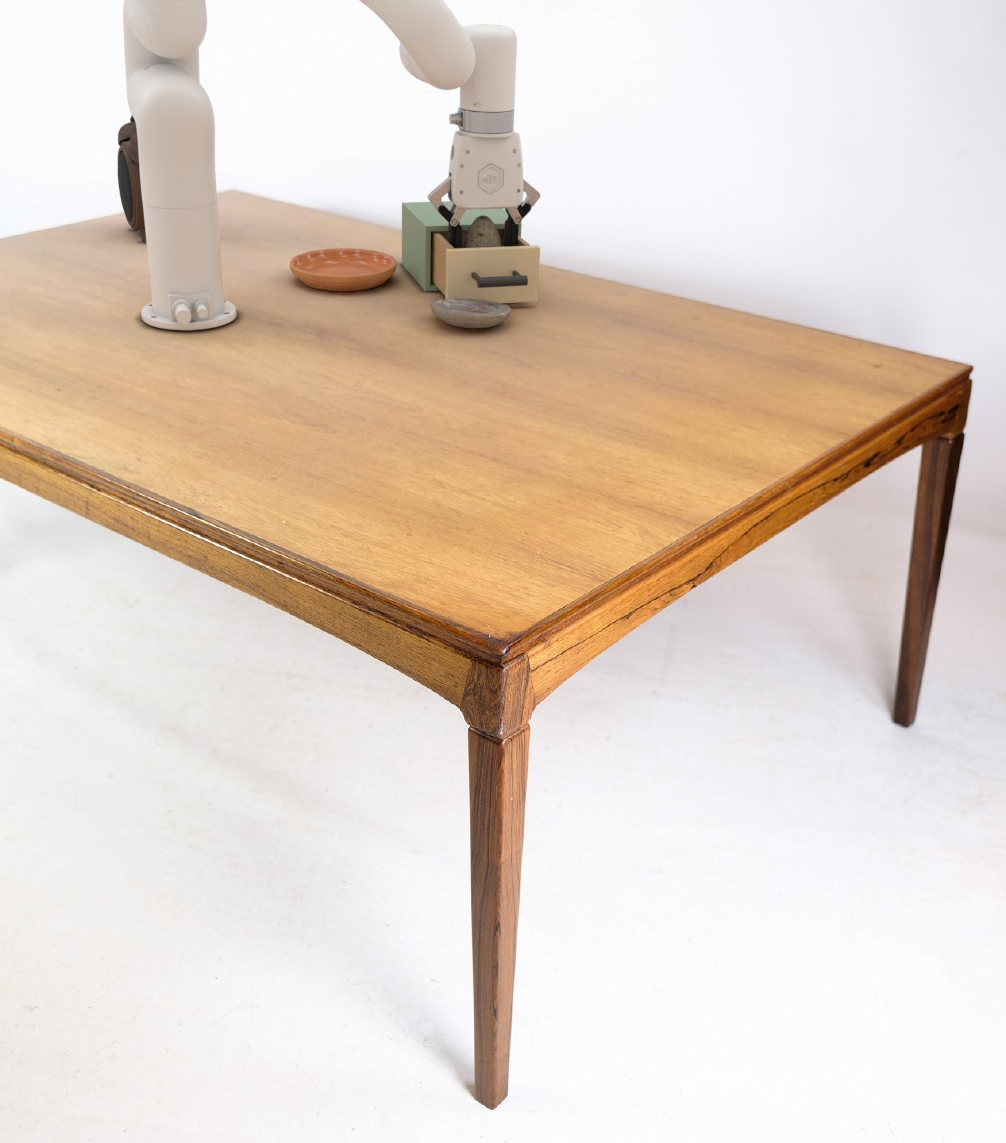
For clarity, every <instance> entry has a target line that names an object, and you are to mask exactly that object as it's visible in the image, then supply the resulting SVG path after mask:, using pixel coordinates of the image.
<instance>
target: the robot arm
mask: <svg viewBox="0 0 1006 1143" xmlns="http://www.w3.org/2000/svg"><path fill="white" fill-rule="evenodd" d="M358 1H359V2H360V3H361V4H363V5H365V6H366V7H367V8H368V9H369V10H370V11H372V12H373V13H374V14H375V15H376V16H377V17H378V18H379V19H380V20H381V21H382V22H383V23H384V24H385V26H386V27H388V29H389V30H390V31H391V32H392V33H393V35H394V36H395V38H397V39H398V41H399V42H400V43H399V49H398V50H399V58H400V61H401V63H402V65H403V67H404V69H405V70H406V72H407V73H409V74H410V75H411V76H412V77H413V78H415V79H417V80H419V81H421V82H423V83H425V84H428V85H430V86H431V87H434V88H436V89H439V90H444V91H451V90H456V89H458V88H459V107H458V108H457V111H456V112H454V113H450V114H448V115H449V116H448V121H449V124H450V125H455V126H457V128H458V130H456V131H454V134H453V138H452V143H451V147H450V148H451V150H450V156H449V164H448V174H447V178H445V179H444V180H443V181H442V182H441V183H439V184H438V186H436V187H435V188H434V189H433V190H431V191H430V192H428V194H427V200H428V202H431V203H432V205H433V206H434V207H435V208H436V210H437V211H438V212H439V213H440V214H441V215H442V216H443V217H444V218H445V219H446V221H448V222H449V225H448V242H449V243H450V244H451V245H452V246H453V247H454V249H458V248H462V227H461V226H460V219H461V218H462V216H463V214H464V212H465V210H466V209H468V210H471V209H504V210H505V211H506V213H507V215H508V220H506V221H505V228H504V247H510V246H515V245H517V244H518V229H519V224H520V223H522V222H523V219H524V218H525V217H526V216H527V215H528V214H529V213H530V212H531V211H532V208H533V207H534V206H535V205H536V204H537V202H538V201H539V199H541V192H539V191H538V190H537V189H536V188H535V187H533V186H532V185H531V184H530V183H529V182H528V181H527V180H525V179H524V165H523V164H524V163H523V153H522V152H523V151H522V150H523V149H522V142H521V135H520V133H518V132H516V131H515V130H514V129H515V102H516V101H515V100H516V81H517V80H516V78H517V51H518V38H517V34H516V32H515V30H514V29H513V28H512V27H509V26H507V25H501V24H490V23H489V24H487V23H479V24H477V23H476V24H471V25H468V26H467V25H462V24H461V23H460V21H459V20H458V19H457V17H456V16H455V15H454V13H453V11H452V10H451V8H450V7H449V5H448V4H447V3H446V2H445V0H358ZM206 2H207V1H206V0H123V5H122V6H123V8H122V27H123V30H122V31H123V47H124V48H123V50H124V69H125V70H124V71H125V83H126V84H125V86H126V87H125V88H126V98H127V104H128V108H129V112H130V113H131V114H132V116H133V118H134V120H135V122H136V128H137V137H138V152H139V168H140V181H141V192H142V202H143V210H144V221H145V239H146V241H145V242H146V249H147V250H146V252H147V263H148V272H149V283H150V284H149V285H150V295H151V302H149V303H147V304H145V306H143V307H142V308H141V311H140V314H141V320H142V321H143V322H144V323H146V324H147V325H149V326H151V327H155V328H158V329H162V330H170V331H200V330H209V329H213V328H218V327H221V326H224V325H227V324H229V323H232V322H233V321H234V320H235V319H236V318H237V314H238V313H237V307H236V306H235V304H233V303H232V302H231V301H228V300H225V294H224V280H223V264H222V253H221V252H222V251H221V237H220V221H219V220H220V219H219V208H218V206H219V205H218V195H217V194H218V192H217V178H216V176H217V175H216V121H215V120H216V119H215V112H214V108H213V105H212V102H211V99H210V97H209V95H208V93H207V91H206V89H205V88H204V86H203V85H202V84H201V83H200V80H201V79H200V46H201V45H202V43H203V41H204V40H205V37H206V33H207V31H208V29H207V28H208V15H207V13H208V12H207V5H206V4H207V3H206ZM524 193H525V194H526V195H525V198H524ZM446 195H447V198H448V201H452V202H453V204H452V206H451V207H450V209H449V210H448V209H447V208H446V207H445V205H444V204H443V203H442V202H443V200H442V198H443V197H444V196H446Z"/></svg>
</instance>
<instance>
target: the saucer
mask: <svg viewBox="0 0 1006 1143" xmlns="http://www.w3.org/2000/svg"><path fill="white" fill-rule="evenodd" d="M397 266H398V261H397V259H396V258H395V257H394V256H392V255H389V254H388V253H384V252H381V251H377V250H372V249H365V248H354V247H353V248H350V247H349V248H348V247H347V248H346V247H344V248H343V247H341V248H340V247H339V248H337V247H336V248H335V247H334V248H324V249H316V250H311V251H307V252H302V253H299V254H297V255H295V256H294V257H292V258H291V259H290V261H289V268H290V272H291V273H292V274H293V275H294V276H295V277H296V278H297V279H299V280H300V281H301V282H302V283H303V284H304V285H305V286H307V287H310V288H313V289H315V290H322V291H329V292H355V291H363V290H370V289H373V288H377V287H379V286H381V285H383V284H384V283H385V282H386V281H387V280H388V279H389V278H391V277H392V276H393V274H394V273H395V272H396V271H397Z"/></svg>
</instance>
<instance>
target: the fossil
mask: <svg viewBox="0 0 1006 1143" xmlns="http://www.w3.org/2000/svg"><path fill="white" fill-rule="evenodd" d="M428 305H429V307H430V310H431V312H432V313H433V315H435V316H436V317H437V318H438V319H440V320H441V321H443V322H445V323H447V324H448V325H452V326H455V327H460V328H464V329H487V328H491V327H495V326H498V325H499V324H501V323H503V321H504V320H506V319H507V318H509V317H510V315H511V313H512V311H513V310H512V308H511V307H510V305H509V304H505V303H497V302H492V301H486V300H478V299H445V298H444V299H443V298H438V299H437V298H436V299H435V298H434V299H430V300H429V301H428Z"/></svg>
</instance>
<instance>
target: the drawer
mask: <svg viewBox="0 0 1006 1143" xmlns="http://www.w3.org/2000/svg"><path fill="white" fill-rule="evenodd" d="M497 231H498V234H499V237H500V240H501V245H502V247H484V248H463V245H464V241H465V238H466V235H467V232H468V230H462V248H458V249H454V247H453V246H452V245H451V244H450V243H449V242H448V231H431V263H430V279H431V280H432V281H433V283H434V284H435V285H436V286H437V287H438V288H439V289H440V290H441V291H440V292H441V293H442V294H443V295H444V296H445V298H444V299H478V300H486V301H492V302H497V303H500V304H517V303H518V304H519V303H535V302H538V300H539V299H538V298H539V282H540V281H539V279H540V278H539V277H540V260H541V258H540V257H541V247H540V246H539V245H537V244H536V245H531V244H529V243H528V242H527V241H526V240H525V239H524V238H522V236H521V237H520V236H519V235H518V244H517V245H515V246H510V247H504V229H497Z"/></svg>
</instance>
